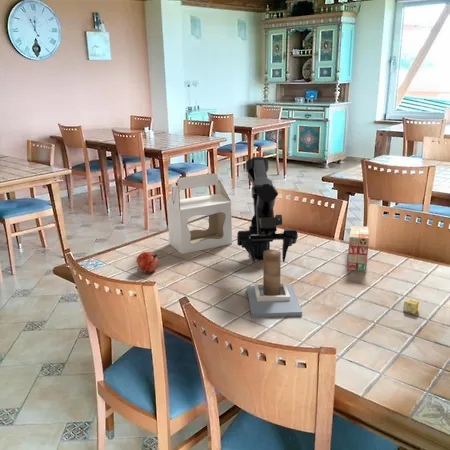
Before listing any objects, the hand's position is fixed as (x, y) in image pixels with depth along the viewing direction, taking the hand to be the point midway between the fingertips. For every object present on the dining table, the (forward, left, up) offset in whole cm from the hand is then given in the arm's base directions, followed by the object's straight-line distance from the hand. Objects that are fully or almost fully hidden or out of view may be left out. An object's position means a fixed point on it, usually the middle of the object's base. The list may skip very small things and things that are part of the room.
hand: (268, 262), depth 142 cm
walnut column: (+3, +6, -7) cm, 10 cm away
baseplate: (+5, +8, -9) cm, 13 cm away
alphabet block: (-23, +35, -9) cm, 42 cm away
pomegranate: (+25, -35, -9) cm, 44 cm away
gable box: (-4, -48, -9) cm, 49 cm away
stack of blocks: (-40, 0, -9) cm, 41 cm away
